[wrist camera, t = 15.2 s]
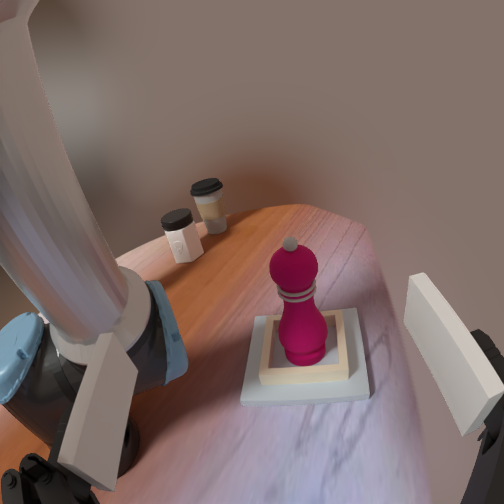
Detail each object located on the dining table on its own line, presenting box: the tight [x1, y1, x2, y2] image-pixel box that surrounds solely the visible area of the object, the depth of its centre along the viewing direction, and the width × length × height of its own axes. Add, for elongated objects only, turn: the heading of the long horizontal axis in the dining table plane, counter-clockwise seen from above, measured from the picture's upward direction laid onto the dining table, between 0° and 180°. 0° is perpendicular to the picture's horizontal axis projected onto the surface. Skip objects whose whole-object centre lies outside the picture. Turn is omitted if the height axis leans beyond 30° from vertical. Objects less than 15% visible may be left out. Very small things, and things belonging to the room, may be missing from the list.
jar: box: [161, 209, 204, 263], centre depth 82 cm, size 9×8×12 cm
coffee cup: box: [190, 178, 227, 234], centre depth 91 cm, size 9×9×15 cm
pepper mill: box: [270, 237, 328, 367], centre depth 42 cm, size 7×7×20 cm
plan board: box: [240, 308, 370, 406], centre depth 47 cm, size 18×18×4 cm
